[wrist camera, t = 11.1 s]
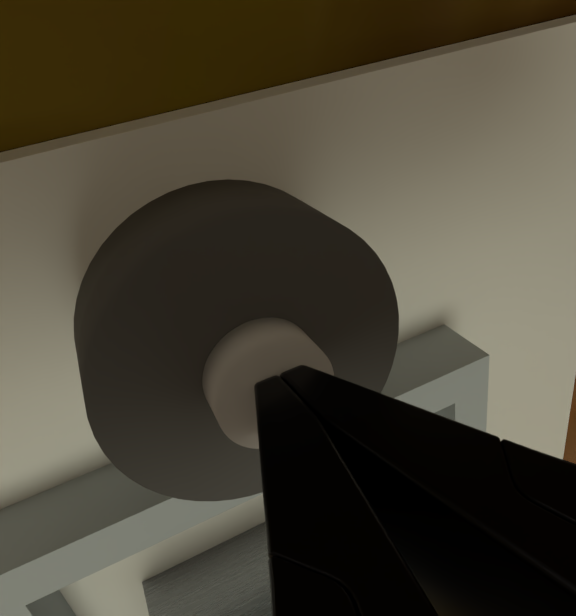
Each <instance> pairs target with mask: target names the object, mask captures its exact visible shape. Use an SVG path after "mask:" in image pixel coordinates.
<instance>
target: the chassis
mask: <svg viewBox="0 0 576 616" xmlns="http://www.w3.org/2000/svg"><path fill="white" fill-rule="evenodd" d="M226 179H231V180H247V181H252V182H257V183H262V184H266V185H269V186H272V187H275V188H277V189H280V190H283V191H285V192H286V193H288V194H290V195H292V196H294V197H296V198H297V199H299V200H301V201H303V202H304V203H306V204H308V205H309V206H311V207H313V208H315V209H316V210H318V211H320V212H321V213H323V214H325V215H327V216H328V217H330V218H332V219H333V220H335V221H337V222H339V223H340V224H342V225H344V226H345V227H347V228H349V229H350V230H352V231H353V232H354V233H356V234H357V235H358V236H359V237H361V238H362V239H363V240H364V241H365V242H366V243H367V244H368V245H369V246H370V247H371V248H372V249H373V250H374V251H375V252H376V254H377V255H378V257H379V258H380V260H381V261H382V263H383V264H384V266H385V268H386V270H387V272H388V274H389V276H390V279H391V281H392V283H393V287H394V290H395V294H396V298H397V304H398V312H399V335H398V342H397V349H396V353H395V357H394V361H393V365H392V368H391V371H390V374H389V376H388V379H387V382H386V384H385V386H384V388H383V390H382V392H381V393H382V394H384V395H387V396H390V397H392V398H395V399H398V400H401V401H403V402H406V403H409V404H411V405H414V406H417V407H419V408H422V409H425V410H428V411H430V412H433V413H436V414H438V415H441V416H444V417H446V418H449V419H452V420H455V421H457V422H460V423H463V424H465V425H468V426H471V427H473V428H476V429H479V430H482V431H484V432H487V433H490V434H492V435H495V436H498V437H499V438H500V441H501V440H503V439H506V440H509V441H512V442H515V443H517V444H520V445H523V446H525V447H528V448H531V449H534V450H537V451H539V452H542V453H545V454H548V455H551V456H554V457H557V458H560V459H563V455H564V448H565V441H566V435H567V428H568V421H569V415H570V408H571V401H572V395H573V388H574V381H575V375H576V15H572V16H568V17H564V18H559V19H555V20H551V21H547V22H543V23H539V24H534V25H530V26H526V27H522V28H518V29H513V30H509V31H505V32H501V33H497V34H493V35H488V36H484V37H480V38H476V39H472V40H468V41H463V42H459V43H455V44H451V45H447V46H442V47H438V48H434V49H430V50H426V51H422V52H417V53H413V54H409V55H405V56H401V57H397V58H392V59H388V60H384V61H380V62H376V63H371V64H367V65H363V66H359V67H355V68H351V69H346V70H342V71H338V72H334V73H330V74H326V75H321V76H317V77H313V78H309V79H305V80H300V81H296V82H292V83H288V84H284V85H280V86H275V87H271V88H267V89H263V90H259V91H255V92H250V93H246V94H242V95H238V96H234V97H230V98H225V99H221V100H217V101H213V102H209V103H204V104H200V105H196V106H192V107H188V108H184V109H179V110H175V111H171V112H167V113H163V114H159V115H154V116H150V117H146V118H142V119H138V120H133V121H129V122H125V123H121V124H117V125H113V126H108V127H104V128H100V129H96V130H92V131H88V132H83V133H79V134H75V135H71V136H67V137H62V138H58V139H54V140H50V141H46V142H42V143H37V144H33V145H29V146H25V147H21V148H17V149H12V150H8V151H4V152H0V616H149V613H148V608H147V603H146V599H145V594H144V589H143V584H142V582H143V581H145V580H147V579H149V578H151V577H153V576H155V575H157V574H159V573H161V572H163V571H165V570H167V569H169V568H171V567H173V566H175V565H177V564H179V563H182V562H184V561H186V560H188V559H190V558H192V557H194V556H196V555H198V554H200V553H202V552H204V551H206V550H208V549H210V548H212V547H214V546H216V545H218V544H220V543H222V542H224V541H226V540H229V539H231V538H233V537H235V536H237V535H239V534H241V533H243V532H245V531H247V530H249V529H251V528H253V527H255V526H257V525H259V524H261V523H263V522H265V515H264V502H263V492H262V493H258V494H255V495H252V496H248V497H243V498H238V499H233V500H224V501H190V500H182V499H177V498H173V497H169V496H165V495H161V494H159V493H156V492H154V491H151V490H149V489H146V488H144V487H142V486H141V485H139V484H137V483H136V482H134V481H132V480H131V479H129V478H128V477H127V476H126V475H124V474H123V473H122V472H121V471H120V470H118V469H117V468H116V467H115V466H114V465H113V464H112V462H111V461H110V460H109V459H108V458H107V456H106V455H105V454H104V453H103V451H102V449H101V448H100V446H99V444H98V443H97V441H96V439H95V438H94V435H93V432H92V430H91V427H90V424H89V422H88V419H87V413H86V408H85V403H84V397H83V391H82V384H81V378H80V372H79V366H78V359H77V353H76V347H75V341H74V312H75V305H76V299H77V296H78V292H79V289H80V285H81V282H82V279H83V277H84V275H85V273H86V271H87V269H88V266H89V264H90V262H91V261H92V259H93V257H94V256H95V254H96V253H97V251H98V250H99V248H100V247H101V245H102V244H103V243H104V241H105V240H106V239H107V238H108V237H109V236H110V234H111V233H112V232H113V231H114V230H115V229H116V228H117V227H118V226H119V225H120V224H121V223H122V222H123V221H124V220H126V219H127V218H128V217H129V216H130V215H131V214H132V213H134V212H135V211H137V210H138V209H140V208H141V207H143V206H144V205H146V204H147V203H149V202H150V201H152V200H154V199H156V198H158V197H160V196H162V195H164V194H166V193H168V192H170V191H173V190H176V189H179V188H182V187H185V186H187V185H191V184H196V183H201V182H205V181H213V180H226Z"/></svg>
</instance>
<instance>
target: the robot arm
mask: <svg viewBox="0 0 576 616" xmlns="http://www.w3.org/2000/svg"><path fill="white" fill-rule="evenodd" d="M254 393H255V406H256V418H257V430H258V442H259V454H260V466H261V478H262V490H263V502H264V515H265V527H266V539H267V551H268V557H269V560H268V567H269V579H270V593H271V616H576V464H574V463H571V462H568V461H565V460H563V459H560V458H557V457H554V456H551V455H548V454H545V453H542V452H539V451H537V450H534V449H531V448H528V447H525V446H523V445H520V444H517V443H515V442H512V441H509V440H506V439H503V440H501V441H500V438H499V437H498V436H495V435H492V434H490V433H487V432H484V431H482V430H479V429H476V428H473V427H471V426H468V425H465V424H463V423H460V422H457V421H455V420H452V419H449V418H446V417H444V416H441V415H438V414H436V413H433V412H430V411H428V410H425V409H422V408H419V407H417V406H414V405H411V404H409V403H406V402H403V401H401V400H398V399H395V398H392V397H390V396H387V395H384V394H382V393H379V392H376V391H374V390H371V389H368V388H365V387H363V386H360V385H357V384H355V383H352V382H349V381H347V380H344V379H341V378H339V377H336V376H333V375H330V374H328V373H325V372H322V371H320V370H317V369H314V368H312V367H309V366H306V365H299V366H296V367H294V368H291V369H289V370H286V371H284V372H282V373H281V374H280V376H277V375H275V376H272V377H269V378H267V379H264V380H262V381H259V382H257V383H256V384H255V385H254Z"/></svg>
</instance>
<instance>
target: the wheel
mask: <svg viewBox="0 0 576 616" xmlns="http://www.w3.org/2000/svg"><path fill="white" fill-rule="evenodd" d="M398 335H399V312H398V304H397V298H396V294H395V290H394V287H393V283H392V281H391V279H390V276H389V274H388V272H387V270H386V268H385V266H384V264H383V263H382V261H381V260H380V258H379V257H378V255H377V254H376V252H375V251H374V250H373V249H372V248H371V247H370V246H369V245H368V244H367V243H366V242H365V241H364V240H363V239H362V238H361V237H359V236H358V235H357V234H356V233H354V232H353V231H352V230H350V229H349V228H347V227H345V226H344V225H342V224H340V223H339V222H337V221H335V220H333V219H332V218H330V217H328V216H327V215H325V214H323V213H321V212H320V211H318V210H316V209H315V208H313V207H311V206H309V205H308V204H306V203H304V202H303V201H301V200H299V199H297V198H296V197H294V196H292V195H290V194H288V193H286V192H285V191H283V190H280V189H277V188H275V187H272V186H269V185H266V184H262V183H257V182H252V181H247V180H231V179H226V180H213V181H205V182H201V183H196V184H191V185H187V186H185V187H182V188H179V189H176V190H173V191H170V192H168V193H166V194H164V195H162V196H160V197H158V198H156V199H154V200H152V201H150V202H149V203H147V204H146V205H144V206H143V207H141V208H140V209H138V210H137V211H135V212H134V213H132V214H131V215H130V216H129V217H128V218H127V219H126V220H124V221H123V222H122V223H121V224H120V225H119V226H118V227H117V228H116V229H115V230H114V231H113V232H112V233H111V234H110V236H109V237H108V238H107V239H106V240H105V241H104V243H103V244H102V245H101V247H100V248H99V250H98V251H97V253H96V254H95V256H94V257H93V259H92V261H91V262H90V264H89V266H88V269H87V271H86V273H85V275H84V277H83V279H82V282H81V285H80V289H79V292H78V296H77V299H76V305H75V312H74V341H75V347H76V353H77V359H78V366H79V372H80V378H81V384H82V391H83V397H84V403H85V408H86V413H87V419H88V422H89V424H90V427H91V430H92V432H93V435H94V438H95V439H96V441H97V443H98V444H99V446H100V448H101V449H102V451H103V453H104V454H105V455H106V456H107V458H108V459H109V460H110V461H111V462H112V464H113V465H114V466H115V467H116V468H117V469H118V470H120V471H121V472H122V473H123V474H124V475H126V476H127V477H128V478H129V479H131V480H132V481H134V482H136V483H137V484H139V485H141V486H142V487H144V488H146V489H149V490H151V491H154V492H156V493H159V494H161V495H165V496H169V497H173V498H177V499H182V500H190V501H224V500H233V499H238V498H243V497H248V496H252V495H255V494H258V493H262V492H263V490H262V478H261V466H260V454H259V442H258V430H257V418H256V406H255V393H254V385H255V384H256V383H257V382H259V381H262V380H264V379H267V378H269V377H272V376H275V375H277V376H280V374H281V373H282V372H284V371H286V370H289V369H291V368H294V367H296V366H299V365H306V366H309V367H312V368H314V369H317V370H320V371H322V372H325V373H328V374H330V375H333V376H336V377H339V378H341V379H344V380H347V381H349V382H352V383H355V384H357V385H360V386H363V387H365V388H368V389H371V390H374V391H376V392H379V393H381V392H382V390H383V388H384V386H385V384H386V382H387V379H388V376H389V374H390V371H391V368H392V365H393V361H394V357H395V353H396V349H397V342H398Z"/></svg>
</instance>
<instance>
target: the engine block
mask: <svg viewBox="0 0 576 616" xmlns="http://www.w3.org/2000/svg"><path fill="white" fill-rule="evenodd" d="M268 560H269V557H268V551H267V539H266V527H265V522H263V523H261V524H259V525H257V526H255V527H253V528H251V529H249V530H247V531H245V532H243V533H241V534H239V535H237V536H235V537H233V538H231V539H229V540H226V541H224V542H222V543H220V544H218V545H216V546H214V547H212V548H210V549H208V550H206V551H204V552H202V553H200V554H198V555H196V556H194V557H192V558H190V559H188V560H186V561H184V562H182V563H179V564H177V565H175V566H173V567H171V568H169V569H167V570H165V571H163V572H161V573H159V574H157V575H155V576H153V577H151V578H149V579H147V580H145V581H143V582H142V584H143V589H144V594H145V599H146V603H147V608H148V613H149V616H271V593H270V579H269V567H268Z"/></svg>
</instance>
